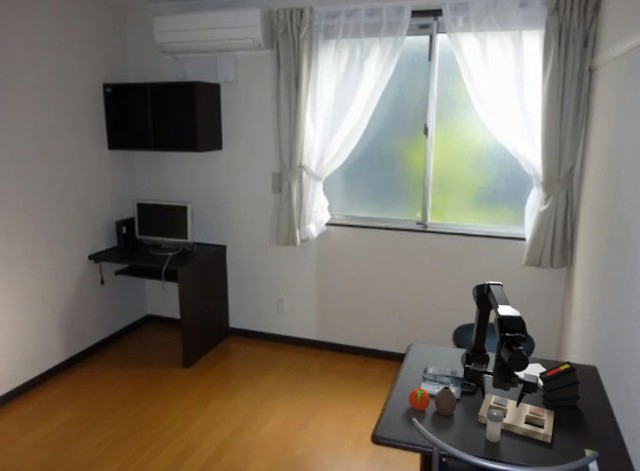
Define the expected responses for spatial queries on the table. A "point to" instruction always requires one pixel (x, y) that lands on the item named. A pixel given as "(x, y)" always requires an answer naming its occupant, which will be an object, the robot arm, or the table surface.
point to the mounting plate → (533, 372)
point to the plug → (494, 424)
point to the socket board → (519, 417)
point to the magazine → (560, 385)
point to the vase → (445, 401)
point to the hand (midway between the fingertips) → (500, 402)
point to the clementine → (419, 399)
